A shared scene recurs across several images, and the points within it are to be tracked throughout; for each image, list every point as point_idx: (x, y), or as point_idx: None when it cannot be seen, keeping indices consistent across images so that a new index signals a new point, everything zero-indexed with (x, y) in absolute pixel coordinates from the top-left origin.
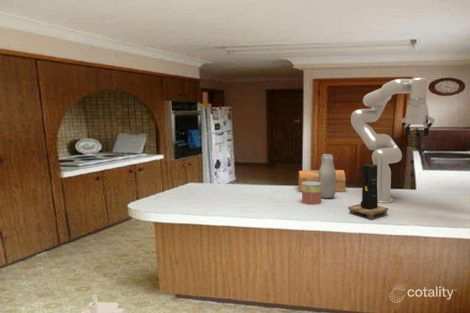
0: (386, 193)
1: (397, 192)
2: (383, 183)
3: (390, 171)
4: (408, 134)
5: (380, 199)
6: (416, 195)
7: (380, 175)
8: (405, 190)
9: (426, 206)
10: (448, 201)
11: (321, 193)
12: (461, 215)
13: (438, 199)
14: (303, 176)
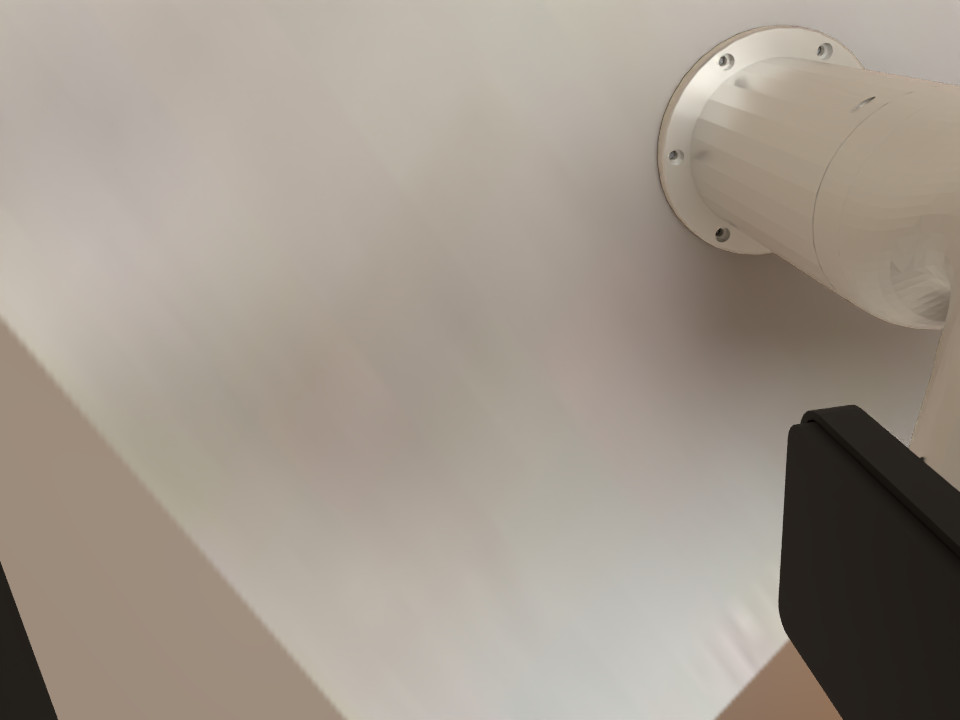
0: (726, 133)
1: None
2: (803, 116)
3: (846, 264)
4: (789, 539)
5: (740, 72)
6: (653, 536)
7: (896, 102)
8: None
9: (382, 315)
10: (385, 587)
11: None
12: (42, 322)
13: (468, 575)
14: None
